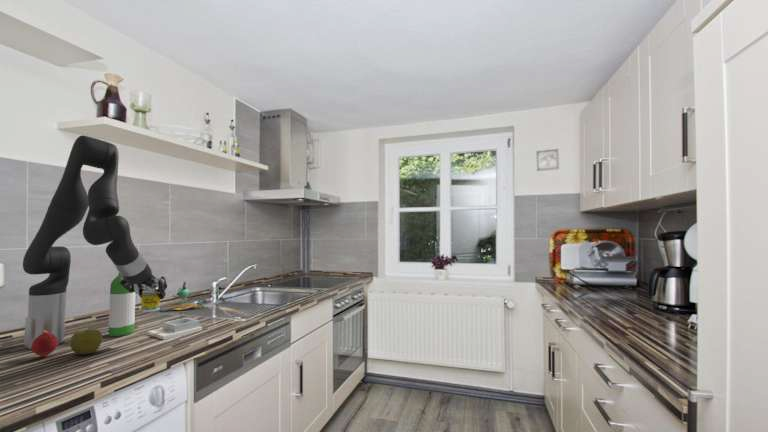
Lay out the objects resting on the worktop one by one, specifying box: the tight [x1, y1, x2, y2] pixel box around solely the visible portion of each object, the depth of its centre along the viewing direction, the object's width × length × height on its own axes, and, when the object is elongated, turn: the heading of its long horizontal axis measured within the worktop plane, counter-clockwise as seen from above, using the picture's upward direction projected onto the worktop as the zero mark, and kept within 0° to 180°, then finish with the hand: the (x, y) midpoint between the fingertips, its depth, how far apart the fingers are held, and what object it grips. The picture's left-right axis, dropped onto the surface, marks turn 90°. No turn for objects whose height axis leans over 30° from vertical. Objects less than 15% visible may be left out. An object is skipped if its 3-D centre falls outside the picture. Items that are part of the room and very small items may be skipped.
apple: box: [69, 328, 103, 355], centre depth 108 cm, size 8×8×7 cm
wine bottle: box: [108, 272, 136, 337], centre depth 129 cm, size 8×8×30 cm
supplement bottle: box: [140, 283, 161, 313], centre depth 119 cm, size 5×5×10 cm
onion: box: [30, 331, 59, 358], centre depth 105 cm, size 6×6×8 cm
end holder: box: [147, 317, 203, 341], centre depth 130 cm, size 15×12×4 cm
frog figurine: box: [167, 280, 206, 311], centre depth 171 cm, size 10×18×15 cm, turn 96°
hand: (154, 297), depth 121 cm, fingers closed on supplement bottle, 5 cm apart
